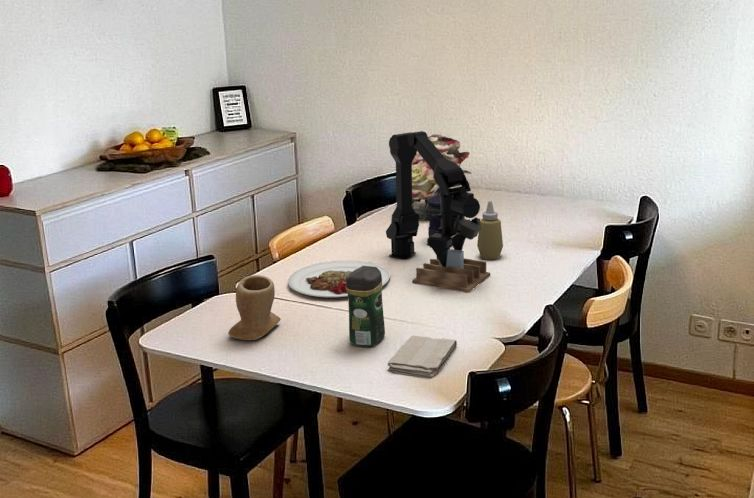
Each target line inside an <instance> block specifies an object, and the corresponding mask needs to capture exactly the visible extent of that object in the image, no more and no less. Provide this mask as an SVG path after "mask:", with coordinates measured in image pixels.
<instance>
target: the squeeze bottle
mask: <svg viewBox="0 0 754 498" xmlns="http://www.w3.org/2000/svg"><path fill="white" fill-rule="evenodd" d="M480 224H481V230H479V232H478V235H477V244H476V247H477V250H478V252H479V253H478V254H479V255H480V258H481V259H483V260H497V259H499V258H500V256H501V253H502V251H503V248H504V242H503V233H502V221H501V219H499V217H498V211H497V212H496V211H495V209H494V206H493V201H491V200H489V201H488V202H487V205H486V210H485V211H484V212H482V219H480Z"/></svg>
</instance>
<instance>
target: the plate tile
mask: <svg viewBox="0 0 754 498" xmlns="http://www.w3.org/2000/svg"><path fill="white" fill-rule="evenodd" d="M464 255H465V251H464V250H462V251H460V250H454V248H453V249H452V248H450V249H449V250H448V255H447V264H446V267H453V268H459V269H464V258H465V257H464ZM439 265H440V266H442V265H441V263H440V261H439Z"/></svg>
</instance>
